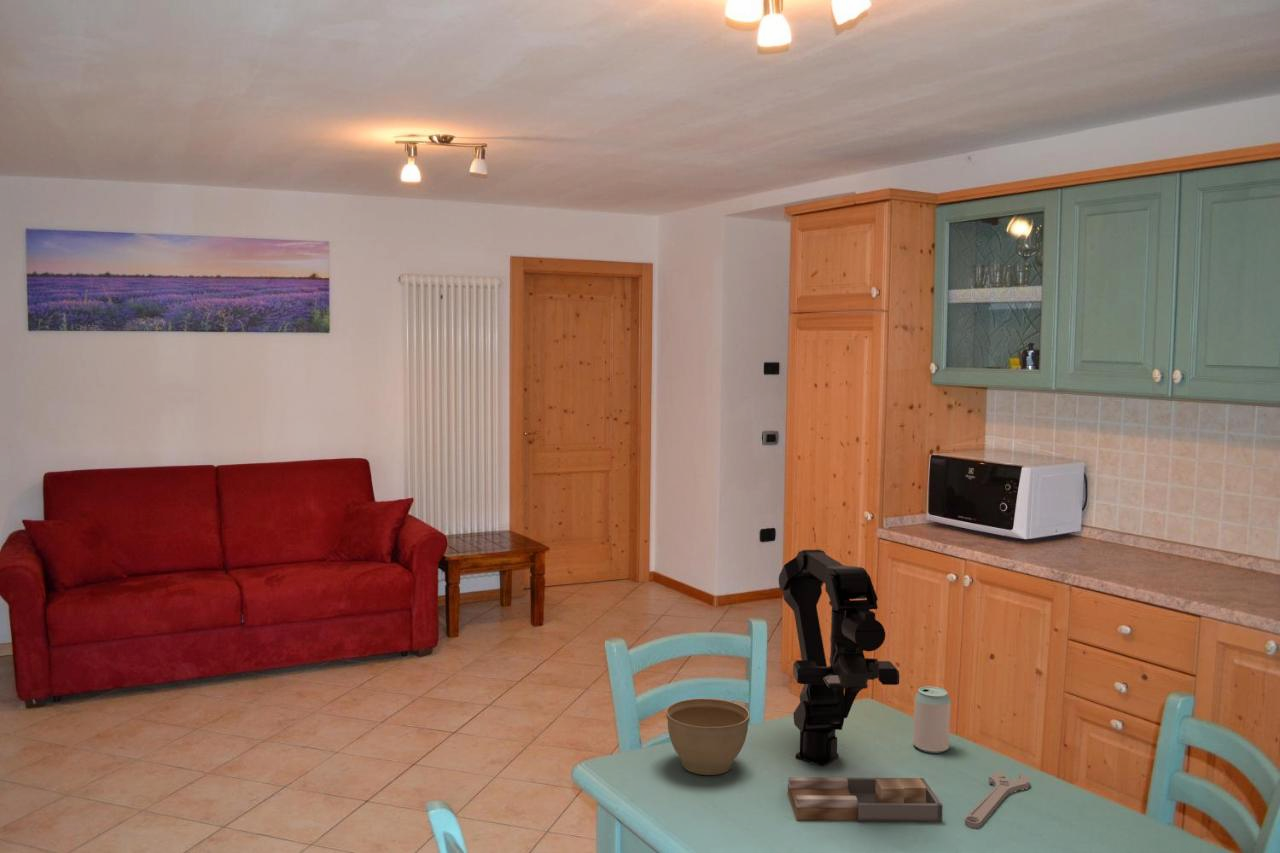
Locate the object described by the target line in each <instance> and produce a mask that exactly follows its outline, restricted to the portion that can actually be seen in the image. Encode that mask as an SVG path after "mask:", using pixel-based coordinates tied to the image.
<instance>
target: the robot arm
mask: <svg viewBox="0 0 1280 853" xmlns="http://www.w3.org/2000/svg"><path fill="white" fill-rule="evenodd" d="M824 584H825V585H824ZM823 585H824V586H825V588H824V589H825V590H824V591H825V592H826V593H827V595H828V598H829V601H828V604H829V606H830V607H831V618H830V620H831V621H830V622H831V623H830V626H831V627H830V636H829V638H830V640H829V641H830V653H829V654H830V657H829V666H828V664H827V659H826V652H825V648H824V641H823V635H822V630H821V625H820V624H821V623H820V618H819V613H818V606H817V605H818V604H819V601H820V598H821V596H822V593H823V591H822V590H823V589H822V588H823ZM778 586H779V589H780V590H781V592H782V596H783V600H784V601H785V603H786V604H787V605H788V607H790V609H791V610H792V611H793V614H794V621H795V625H796V626H795V628H796V633H797V640H798V643H799V651H800V657H801V660H800V659H797V660H795V661H794V662H793V665H792V676H793V677H794V679H795V681H796V683H797V684H800V685H803V687H802V689H801V692H800V693H799V694H800V695H799V702H800V703H799V704H798V705H797V707H796V709H795V710H794V711H793V725H795V727H796V728H797V729H798V730H799V752H797V753H796V754H795V756H794V757H795V758H796V759H800V760H803V761H805V762H808V763H812V764H815V765H819V766H823V767H824V766H826V765H828V764H829V763H830V762H832V761H834V760H835V759H837V758H838V757H839V756H840V753H838V737H837V736H836V730H837V731H838V730H839V731H842V730H843V726H844V723H845V719H847V718H848V716H849V714H850V711H851V709H852V706H853V704H854V701H855V699H856V698H857V696H858V694H859V693H860V692H861V691H862V690H863V689H865V690H866V689H867V688H868V687H869V685H868V681H870V680H871V681H875V679H877V680H878V681H879V682H880V684H882V685H884V686H885V685H887V686H898V685H899V684H900V671H899V670H898V669H897V667H896V666H895V665H894V664H893V663H892V661H890V660H878V658H868V657H866V658H865V654H864V652H873V651H876V650H879V648H880V647H882V645H883V644H884V642H885V639H886V631H885V628H884V625H883V624H882V623H881V622H880V621H879V620H877V619H876V613H875V612H874V611H872V610H878V609H879V608H878V603H877V602H878V601H879V600H878V599H879V598H878V596H877V593H876V590H875V587H874V584H873V582H872V578H871V576H870V574H869V573H868V572H867V570H866V569H865V567H861V566H854V565H853V566H851V565H844V564H842V563H841V562H839V561H837V560H836V559H834V558H832V556H829V555H827V554H826V552H825V550H822V549H818V548H817V549H802V550H799V551H798V552H797V554H796V556H795V557H794V558H792V559H791V560H789V561H788V562H787V563H785V564H784V565H783V567H782V568H781V571H780V573H779V575H778Z"/></svg>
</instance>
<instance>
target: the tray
mask: <svg viewBox="0 0 1280 853" xmlns="http://www.w3.org/2000/svg"><path fill="white" fill-rule="evenodd" d="M846 778H847V780H848V791H849V793H850V794H851V796H856V798H857V800H858V801H857V808H858V821H857V822H858V823H865V822H866V823H875V822H876V823H942V822H943V807H944V806H943V804H942V803H941V801H940V800H939V798H938V797H937V796H936V794H935V793H934V791H933V790H932V788H931V786H929V784H928V782H927V781H926V780H925V778H924V777H919V778H920V780H921V781H922V782H923V784H924V785H925V787H926V803H876V801H875V788H876V779H897V778H898V777H846Z"/></svg>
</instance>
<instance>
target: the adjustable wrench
mask: <svg viewBox="0 0 1280 853" xmlns="http://www.w3.org/2000/svg"><path fill="white" fill-rule="evenodd" d="M1018 777H1019V778H1014V779H1013V778H1008V777H1006V774H1005V771H1004V770H1003V771H997V772H995V773H993V774H992V775H991V776H988V784H990V785H992V786H993V788H992V789H991V791H990V792H988V793H987V794H986V796H984V798H983V799H981V800H980V802H979V803H978V804H977V805H975V806H974V808H973V809H972V810H971V811H970V812H969V813H968V814H967V815H966V816H965V817H964V825H965V826H966V827H967V828H970V829H980V828H981V827H982V826H983V825H984V824H985V822H986V821H987V820H988V819H989V818H990V817H991V815H992V814H993V813H994V811H996V809H997V808H998V807H1000V804H1001V803H1002V802H1003V801H1004V800H1005V799H1006V797H1008V796H1009V795H1011V794H1010V793H1012V792H1015V791H1018V790H1022V791H1024V790H1023V789H1026V788H1028V787H1030V778H1029V777H1028V776H1027V775H1025V774H1023V773H1019V776H1018ZM994 787H995V788H994ZM1028 789H1029V788H1028ZM1026 790H1027V789H1026ZM1018 792H1019V791H1018ZM1015 793H1016V792H1015ZM1008 794H1009V795H1008ZM1012 794H1013V793H1012ZM1004 798H1005V799H1004Z"/></svg>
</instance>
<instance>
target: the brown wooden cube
mask: <svg viewBox="0 0 1280 853" xmlns="http://www.w3.org/2000/svg"><path fill="white" fill-rule="evenodd" d="M875 801H876V803H904V788H903V786H902V785H901V783H900V781H899V780H898V779H876V788H875Z"/></svg>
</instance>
